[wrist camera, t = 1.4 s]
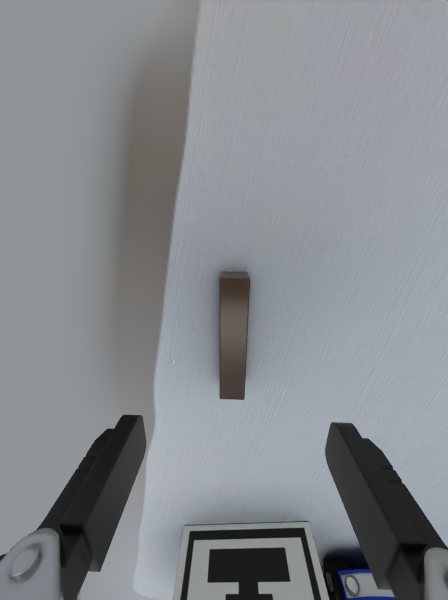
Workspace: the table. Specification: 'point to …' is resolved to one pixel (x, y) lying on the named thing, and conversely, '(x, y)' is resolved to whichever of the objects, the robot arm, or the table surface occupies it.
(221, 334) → the stick
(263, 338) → the table surface
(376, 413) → the table surface
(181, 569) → the block
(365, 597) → the toy car
